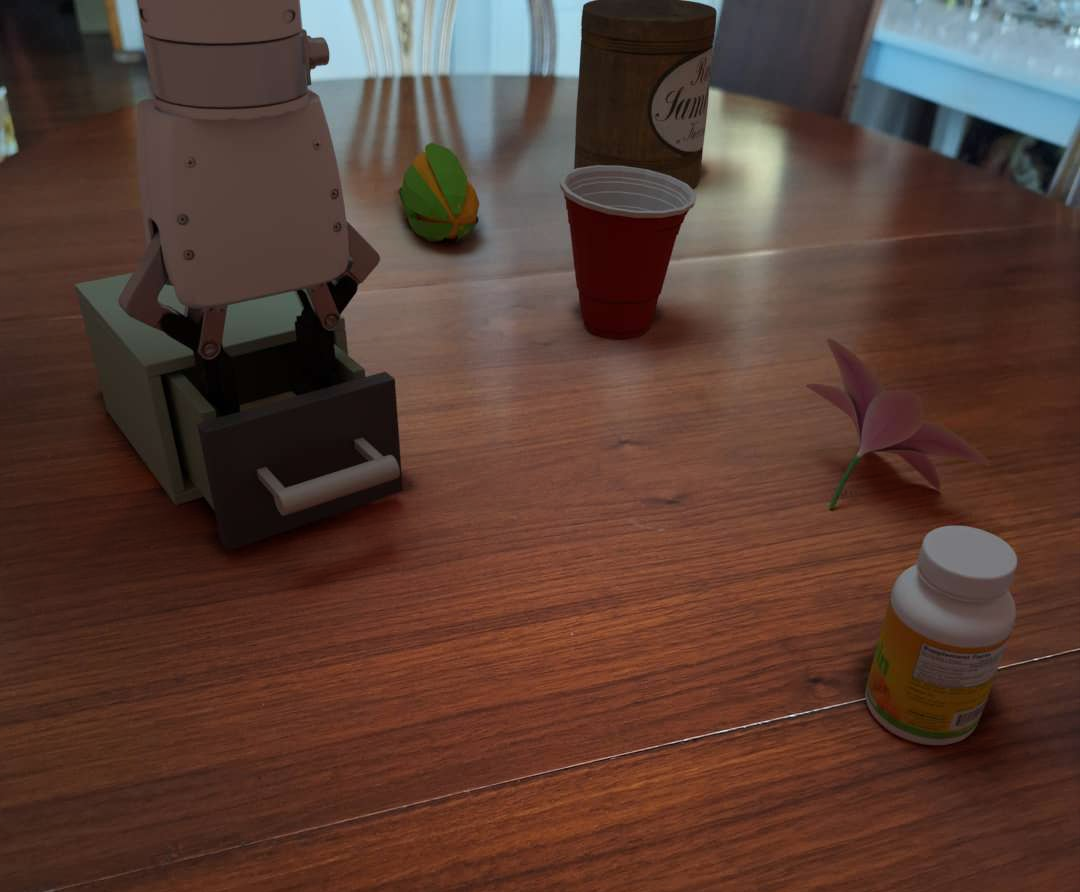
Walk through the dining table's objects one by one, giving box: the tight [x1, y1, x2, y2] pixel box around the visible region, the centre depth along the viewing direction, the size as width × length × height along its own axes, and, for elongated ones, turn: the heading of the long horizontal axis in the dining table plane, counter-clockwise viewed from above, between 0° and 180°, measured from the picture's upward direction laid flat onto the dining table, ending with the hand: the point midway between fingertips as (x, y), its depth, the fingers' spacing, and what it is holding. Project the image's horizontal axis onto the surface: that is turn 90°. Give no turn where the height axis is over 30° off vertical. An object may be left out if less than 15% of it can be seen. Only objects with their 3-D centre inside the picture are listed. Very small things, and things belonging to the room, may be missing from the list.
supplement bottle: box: [864, 525, 1018, 746], centre depth 48 cm, size 5×5×10 cm
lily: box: [805, 337, 992, 510], centre depth 65 cm, size 12×12×10 cm
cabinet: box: [74, 272, 349, 506], centre depth 70 cm, size 15×13×10 cm
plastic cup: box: [559, 165, 698, 340], centre depth 84 cm, size 11×11×12 cm
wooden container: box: [573, 0, 718, 189], centre depth 116 cm, size 15×15×22 cm
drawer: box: [160, 341, 404, 551], centre depth 63 cm, size 18×11×8 cm, turn 35°
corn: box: [398, 142, 480, 243], centre depth 106 cm, size 7×8×20 cm
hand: (271, 395), depth 62 cm, fingers open, 5 cm apart
